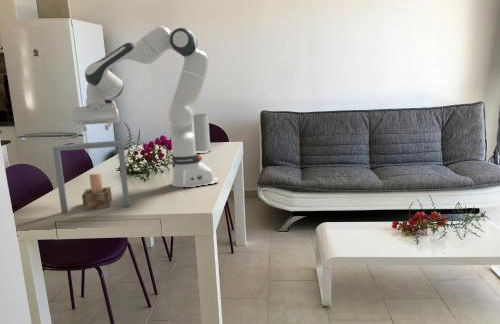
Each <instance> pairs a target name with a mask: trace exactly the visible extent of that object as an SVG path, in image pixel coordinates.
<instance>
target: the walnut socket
mask: <svg viewBox="0 0 500 324" xmlns="http://www.w3.org/2000/svg"><path fill="white" fill-rule="evenodd" d="M102 188H103V193H93V194H91V188H86V189H85V190H84V192H83V193H82V195H81V198H82V205H83V210H85V211H86V210H87V211H88V210H96V209H104V208H110V207H111V205H112V201H113V197H112V189H111V186H106V187H102Z"/></svg>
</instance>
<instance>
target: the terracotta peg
mask: <svg viewBox="0 0 500 324" xmlns="http://www.w3.org/2000/svg"><path fill="white" fill-rule="evenodd" d="M88 176H89V183H90V184H89V185H90V189H91V194H93V193H103V188H104V187H103V181H102V174H101V172H97V173H91V174H89V175H88Z"/></svg>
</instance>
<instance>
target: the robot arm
mask: <svg viewBox="0 0 500 324" xmlns="http://www.w3.org/2000/svg"><path fill="white" fill-rule="evenodd" d="M168 50H173V51H175V52H176V53H177V54H179V55H181V56H182V57H183V59H184V60H183V66H182V67H181V71H180V75H179V79H178V81H177V85H176V89H175V92H174V95H173V98H172V102H171V104H170V106H169V107H170V108H169V111H168V119H169V122H170V132H171V133H170V135H171V136H170V137H171V138H170V139H171V141H170V142H171V150H172V155H171V156H172V164H171V165H172V167H173V168H172V169H173V171H172V180H171V186H172V187H175V188H176V187H177V188H183V187H186V188H185V189H188V188H187V187H193V188H195V187H194V186H199V185H206V184H211V183H216V182H218V181H219V178H218V176H215V175H214V172H213V170H212V168H211V167H210V166H208V165H207V164H205V163H204V162H203V161H202V160H203V156H202V155H201V154H196V148H195V134H194V119H193V116H194V115H195V112H196V109H197V105H198V102H199V99H200V95H201V91H202V89H203V85H204V81H205V79H206V75H207V71H208V65H209V57H208V54H207V53H206V52H204V51H203V50H202V49H201V50H200V49H198V39H197V38H196V36H195V34H194V33H193V32H192V31H190V30H189V29H188V28H186V27H178V28H176V29H174V30H173V31H171V30H170V28H168V27H167V26H165V25H158V26H156V27H155V28H153V29H151V30H150V31H149V32H147V33H146V34H145V35H144V36H143V37H142V38H141V39H139V40H136V41H135V42H126V43H124V44H122V45H121V46H118V47H117V48H116V49H114V50H112V51H111V52H110V53H108V54H106V55H105V56H104V57H102V58H101V59H99V60H98V61H95V62H93V63H91V64H90V65H88V66H87V67H86V69H85V72H84V73H85V74H84V77H85V81H86V82H87V84H86V85H87V86H86V93H85V94H86V99H85V106H76V107H74V108H73V109H72V110H71V122H72V124H73V125H74V126H80V128H82V129H81V130H82V132H85V133H86V132H87V130H88V129H87V126H86V125H100V124H101V125H103V124H104V131H109V130H110V127H111V126H112V124H115V123H116V124H117V123H119V122H120V114H119V110H118V108H117V107H118V106H117V104H116V102H115V100H114V99H116V98H117V97H119V96H121V95H122V94H123V90H124V86H125V85H124V81H123V80H122V79H121V78H119V76H117V75H116V74H114V73H113V72H112V71H110V69H111V68H113V67H114V66H116V65H117V64H119V63H121V62H122V61H124V60H125V61H126V60H130V61H134V62H137V63H139V64H144V65H150V64H152V63H154V62H156V61H157V60H158V59H159V58H160V57H161V56H162V55H163V54H164V53H165V52H167V51H168ZM218 183H219V182H218ZM206 186H207V185H206Z"/></svg>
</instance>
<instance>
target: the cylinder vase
mask: <svg viewBox="0 0 500 324" xmlns="http://www.w3.org/2000/svg"><path fill="white" fill-rule="evenodd" d="M193 119H194V134H195V148H196V151H206V150H210V151H211V139H210V138H211V137H210V125H209V124H210V123H209V120H210V119H209V114H208V113H207V114H206V113H197V114H195V113H194V116H193Z"/></svg>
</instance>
